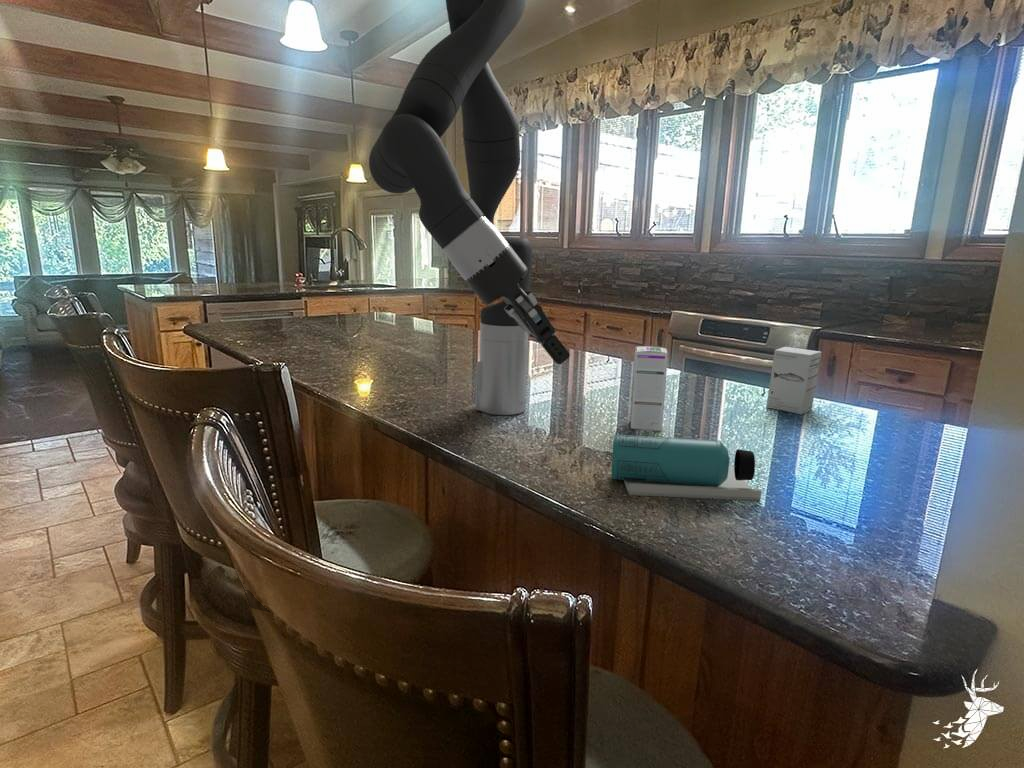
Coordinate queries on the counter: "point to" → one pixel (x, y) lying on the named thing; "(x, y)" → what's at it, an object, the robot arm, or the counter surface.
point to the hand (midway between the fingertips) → (563, 359)
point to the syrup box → (649, 388)
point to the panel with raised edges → (697, 489)
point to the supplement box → (793, 379)
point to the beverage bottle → (677, 460)
